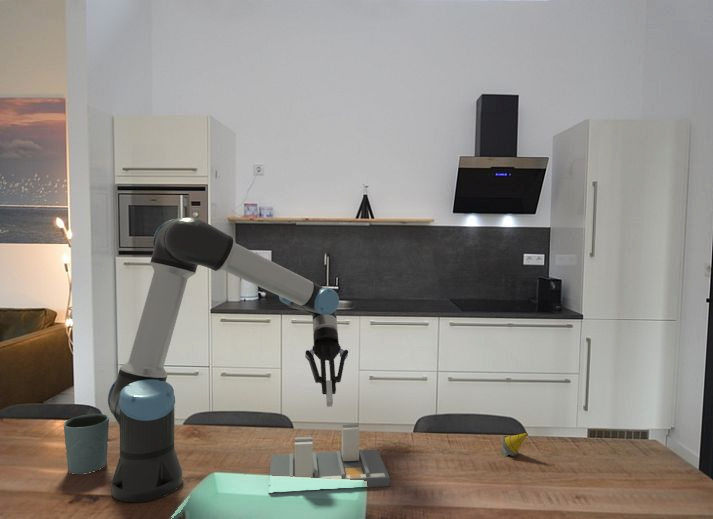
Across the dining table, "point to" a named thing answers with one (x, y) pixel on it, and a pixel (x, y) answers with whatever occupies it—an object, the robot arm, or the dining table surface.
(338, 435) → the dining table surface
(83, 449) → the teal cup
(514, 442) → the yellow spinning top
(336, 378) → the robot arm
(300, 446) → the tab left
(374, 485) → the switch bank
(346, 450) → the tab right
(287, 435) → the dining table surface
